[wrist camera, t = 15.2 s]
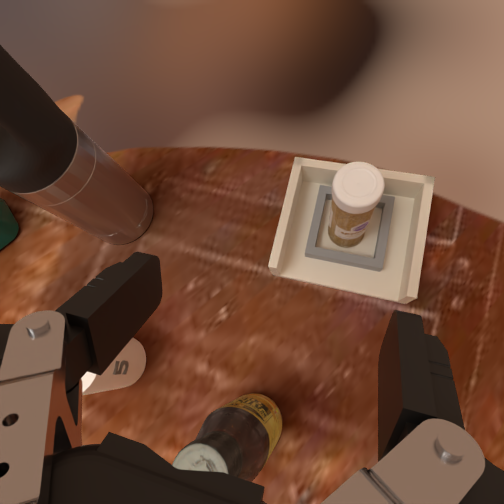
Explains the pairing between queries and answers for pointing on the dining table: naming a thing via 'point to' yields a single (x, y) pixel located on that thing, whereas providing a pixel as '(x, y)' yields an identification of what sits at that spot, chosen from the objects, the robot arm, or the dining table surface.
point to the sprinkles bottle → (353, 202)
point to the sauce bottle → (235, 438)
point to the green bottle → (7, 225)
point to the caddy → (372, 245)
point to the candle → (118, 370)
